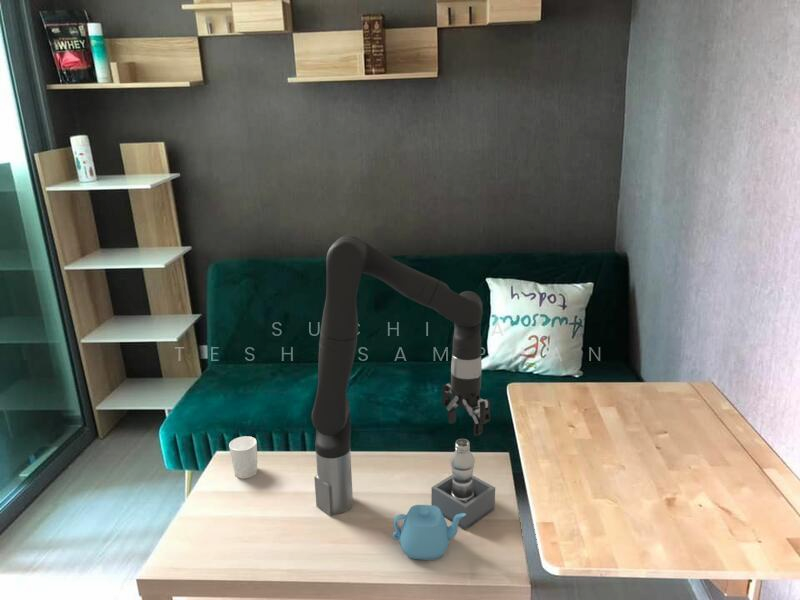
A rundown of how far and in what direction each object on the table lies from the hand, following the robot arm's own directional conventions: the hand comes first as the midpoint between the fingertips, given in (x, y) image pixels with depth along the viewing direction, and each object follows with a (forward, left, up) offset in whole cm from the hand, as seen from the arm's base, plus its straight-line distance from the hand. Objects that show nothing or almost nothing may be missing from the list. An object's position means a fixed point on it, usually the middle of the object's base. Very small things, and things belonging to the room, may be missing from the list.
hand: (464, 428), depth 163 cm
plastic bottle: (0, 0, -24) cm, 24 cm away
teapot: (-17, -4, -25) cm, 30 cm away
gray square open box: (0, 0, -25) cm, 25 cm away
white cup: (-33, +57, -25) cm, 71 cm away
